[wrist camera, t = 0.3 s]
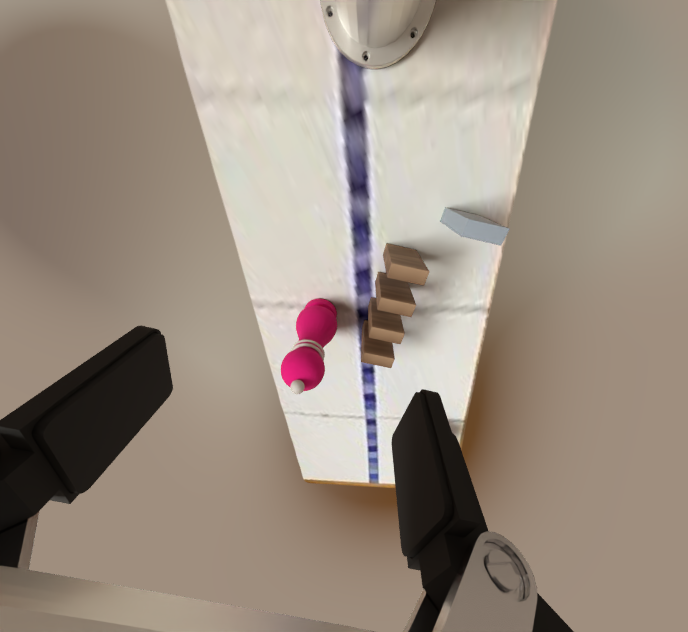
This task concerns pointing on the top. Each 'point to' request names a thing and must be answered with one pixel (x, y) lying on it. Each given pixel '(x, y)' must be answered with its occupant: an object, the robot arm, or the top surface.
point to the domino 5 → (474, 226)
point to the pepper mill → (310, 346)
